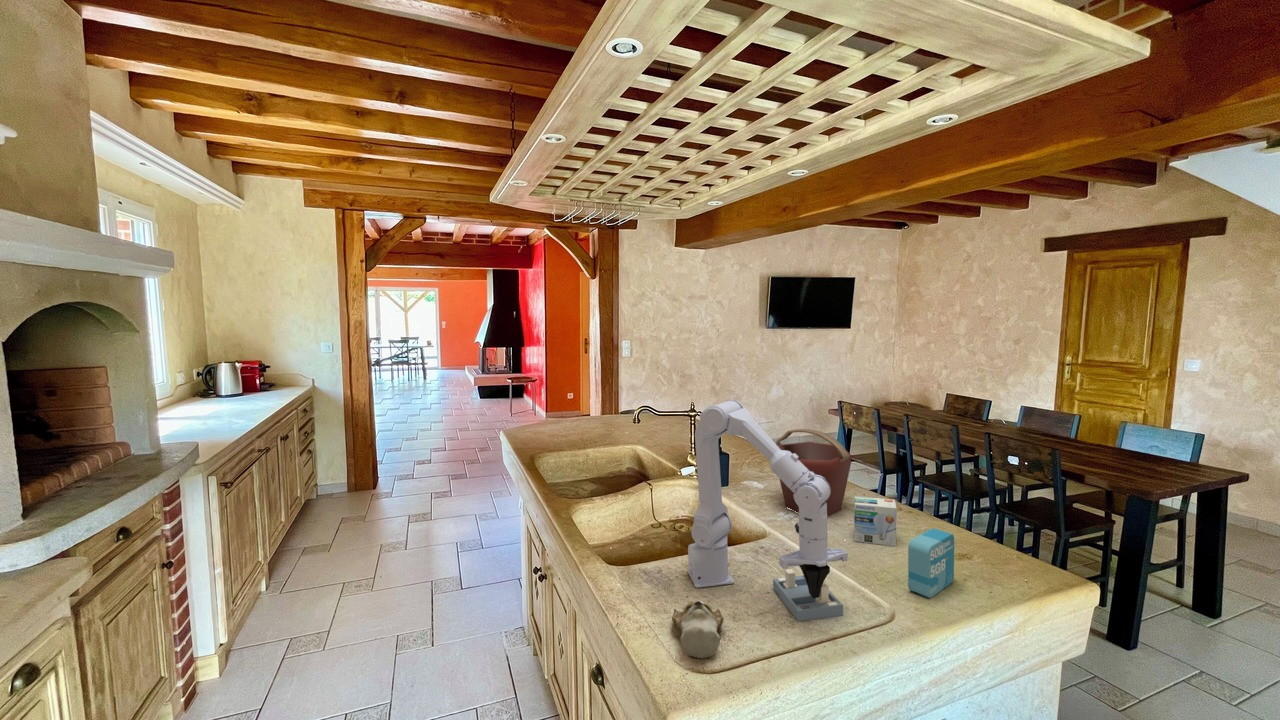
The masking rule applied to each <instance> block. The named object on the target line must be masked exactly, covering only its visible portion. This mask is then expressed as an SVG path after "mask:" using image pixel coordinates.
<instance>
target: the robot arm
mask: <svg viewBox="0 0 1280 720" xmlns="http://www.w3.org/2000/svg"><path fill="white" fill-rule="evenodd" d="M694 431H695V433H694V442H695V454H696V455H695V457H696V472H697V473H696V474H697V484H698V485H697V487H698V500H699V502H698V503H699V505H698V506H697V509H696V511H695V513H694V514H693V524H692V527H691V537H692V539H693V541H694V543H691V544H688V547H687V558H688V559H687V560H688V561H687V562H688V571H687V572H688V575H689V577H690V579H691V581H692V583H693V585H694V587H695V588H696V589H699V588H705V587H706V588H707V587H715V586H722V585H731V584H734V583H735V580H734V578H733V577H732V576H731V574H730V573H729V556H728V555H729V553H728V551H729V550H728V535H729V533H731V531H732V529H733V523H732V519H731V517H730V515H729V511H728V506H727V505H726V504H724V503H723V497H722V495H723V494H722V481H721V479H722V478H721V464H720V448H719V439H720V438H721V437H722V436H724V434H726V435H727V436H736V437H737V436H739V437H743V439H745V440H746V441H747V442H749V443H750V444H751V445H752V447H754V448H755V449H756V450H757V451H758V452H759V453H761V454H762V455H763V456H764V457H765V458H766V459H767V460H768V461H769V469H770V470H771V471H772V472H773V473H774V474H775V476H776V477H778V478H780V479H781V480H782V481H783V482H784V483H785V484H786V485H787V487H788V488H789V489H790V490H791V491H792V492H794V493H795V494H793V495H794V500H795V502H796V503H797V505H798V506H799V514H798V521H799V534H798V540H799V541H798V543H799V545H798V547H799V550H796V551H793V552H790V553H788V554H783V555H779V561H778V563H779V566H780V567H781V568H782V569H783V570H787V569H789V568H788V567H797V566H798V567H799V568H800V570H801V572H802V575H804V577H805V579H806V582H807V586H808V590H809V594H810V595H811V596H812V597H813V598H819V595H820V591H821V587H822V585H823V583H825V580H826V578H827V576H828V575H829V574H830V572H831V567H830V566H829V564H828V563H830V562H838V561H842V562H844V563H845V562H848V561H849V558H848V557H849V556H848V555H849V554H848V551H846V550H845V549H844V548H828V547H829V546H828V545H829V543H828V517H827V503H826V502H825V501H826V500H827V499H828V498H829V496H830V493H831V489H830V486H829V484H828V482H827V481H826V480H825V478H824V477H822V476H820V475H815V474H814V473H813V472H810V471H809V470H808V469H807V468H806V467H805V466H804V465H803V464H802V463H801V462H800V461H799V460H798V458H799V457H798V456H797V455H796V454H795V453H794V454H792V453H791V452H790V451H785V450H780V448H779V447H778V446H777V445H776V442H774V440H773V439H772V438H771V437H770V436H769V435H768V434H767V433H766V432H765V431H764V429H763V428H762V427H761V426H760V425H759V423H757V422H756V420H754V418H753V417H752V415H751V412H750V410H749V409H747V408H746V407H744V405H743V404H742V403H741V402H740V401H738V400H737V399H733V398H732V399H728V400H726V401H724V402H720V403H717V404H714V405H710V406H709V405H708V407H706V408H705V409H704V410H703V411H702V412H701V413H699V422H698V424H697V426H696V429H695V430H694ZM780 479H779V480H780Z"/></svg>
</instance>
